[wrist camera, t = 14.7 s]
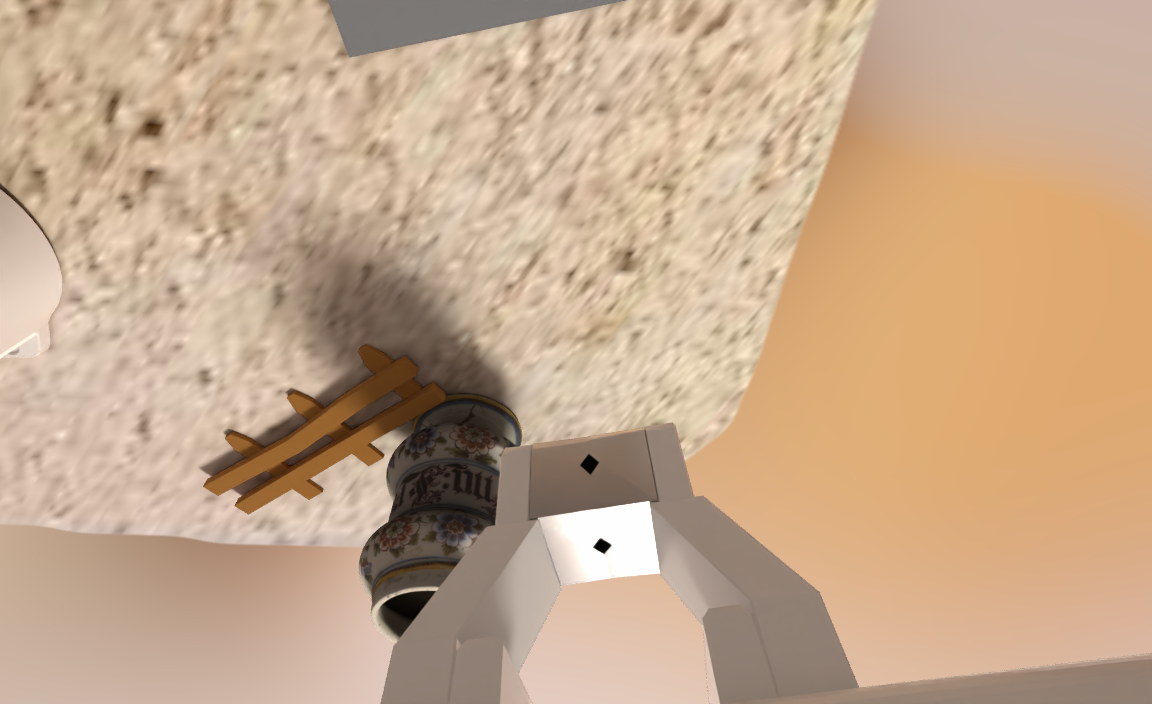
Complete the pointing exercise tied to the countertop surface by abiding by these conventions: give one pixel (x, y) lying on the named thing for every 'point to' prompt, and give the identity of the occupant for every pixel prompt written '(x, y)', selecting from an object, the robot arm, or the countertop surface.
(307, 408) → the decorative fence
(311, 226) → the countertop surface
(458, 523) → the apothecary jar
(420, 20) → the mat
